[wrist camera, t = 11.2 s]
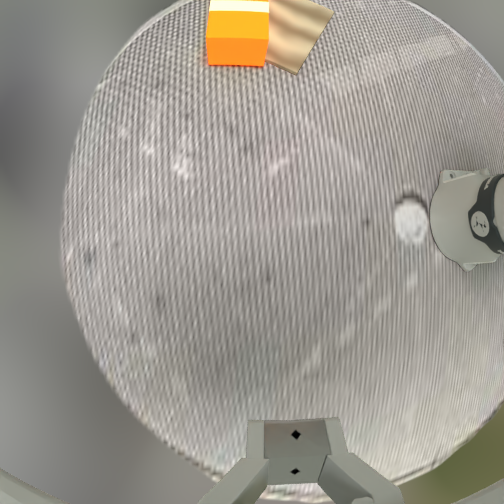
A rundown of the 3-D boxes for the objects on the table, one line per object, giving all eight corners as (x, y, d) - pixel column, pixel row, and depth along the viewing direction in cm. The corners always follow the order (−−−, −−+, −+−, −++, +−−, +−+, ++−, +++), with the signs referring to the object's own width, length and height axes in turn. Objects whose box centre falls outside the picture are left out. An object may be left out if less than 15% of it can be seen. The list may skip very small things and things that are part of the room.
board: (268, -12, 43) (269, -15, 42) (333, 14, 44) (334, 11, 43) (219, 44, 42) (219, 41, 41) (296, 75, 43) (297, 73, 42)
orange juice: (269, 39, 34) (268, -35, 34) (205, 37, 33) (216, -37, 33) (263, 66, 42) (263, -8, 41) (208, 65, 41) (217, -10, 41)
